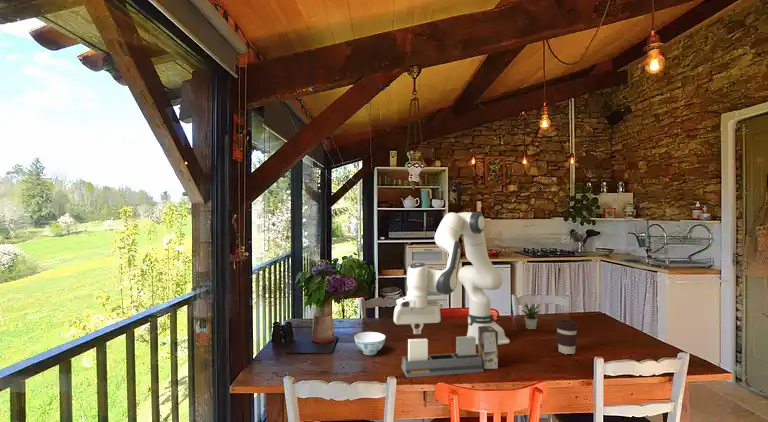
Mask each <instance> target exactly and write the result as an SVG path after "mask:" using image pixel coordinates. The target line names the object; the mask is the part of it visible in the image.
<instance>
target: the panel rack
mask: <svg viewBox="0 0 768 422" xmlns="http://www.w3.org/2000/svg"><path fill="white" fill-rule="evenodd" d="M455 343H456V344H455V353H442V354H440V353H439V354H438V353H437V354H428V360H420V361H408V355H406V356H405V355H404V356H402V361H401V362H402V363H401V366H400V367H401V369H402V371H403V373H404V375H405V376H406V377H405V378H415V377H416V378H417V377H431V376H442V375H443V376H444V375H457V374H458V375H461V374H473V373H484V368H483V366H482V357H481V356H480V355H478V352H476V351H477V349H476V346H477V344H476V337H474V336H467V335H465V336H464V335H463V336H455Z"/></svg>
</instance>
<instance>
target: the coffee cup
mask: <svg viewBox="0 0 768 422" xmlns="http://www.w3.org/2000/svg"><path fill="white" fill-rule="evenodd" d="M555 328H556V338H557V341H556V342H557V347H558V352H559V353H560V352H561V353H560V354H562V353H564V354H563V355H567V354H573V355H575V354H576V347H577V339H578V338H577V337H578V333H577V331H579V326H578V325H577V324H576V323H575V322H574V321H572V320H567V319H561V320H558V322H556V323H555ZM574 353H575V354H574Z"/></svg>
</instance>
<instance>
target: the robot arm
mask: <svg viewBox="0 0 768 422" xmlns="http://www.w3.org/2000/svg"><path fill="white" fill-rule="evenodd" d="M485 227H486V218H485V216H484V215H483V214H482V213H480V212H475V211H473V212H470V211H469V212H467V211H466V212H465V211H462V212H457V213H456V212H451V211H450V212H448V213H446V214H445V215H444V216H443V218H442V219H441V221H440V223H439V225H438V227H437V229H436V230H435V231H436V232H435V234H434V242H435V244H436V246H437V247H438V248H439V249H440V250H441V251H443V252H445V253H447V254H448V258H447V263H446V267H445V269H442V270H440V269H434V268H430V267H428V266H427V264H426V263H424V262H421V261H420V262H419V261H418V262H413V263H411V264H409V265H408V269H407V276H406V285H407V292H406V295H405V296H403V297H401V298H398V299H396V300H395V301H396V306H395V307H394V310H393V317H392V318H393V322H394V323H395V325H410V326H411V328H412V332H413V335H419V334H420V335H421V334H422V329H423V327H424V324H437V323H440V322H441V320H442V319H441V318H442V317H441V311H440V310H441V303H440V301H438V300H428V299H429V298H428V295H429V294H428V292H432V293H439V294H440V295H441V294H442V295H445V296H448V295H450V294H452V293H453V292H454V291H455V290H456V289H457V284H458V280H459V282H460V283H461V284H462V285H463V287H464V289H465V291H466V294H467V298H468V313H467V324H468V325H467V326H468V327H467V332H466V336H474V337H476V345H478V326H491V327H492V328H494V329H495V330H496V331H497V332H498V346H500V345H506V344H510V339H509V338H508V337H507V336H506V333H505V331H504V329H503V328H502V327H501V326H500V325H499V324H498V323H496V321H497V319H498V317H497V316H496V315H493V314H491V299H490V298H489V296H488V295H486V293H485V292H484V291H485V290H488V291H494V290H498V289H500V288H501V286H502V285H503V282H504V280H503V275H502V273H501V272H500V271H499V270H497V268H496V267H495V266H494V265H493V263H492V261H491V259H490V258H489V254H488V249H487V243H486V237H485V232H484V230H485V229H486V228H485ZM461 235H463V244H464V251H465V257H466V259H467V260H468V261H469V262H470V263H471V265H467V266H466V265H465V266H462V267H460V266H459V265H460V262H461V254H462V245H461V242H459V240H460V239H459V238H460V237H461ZM459 267H460V269H459ZM416 324H418V325H419V326H418V328H416V327H415V326H416Z"/></svg>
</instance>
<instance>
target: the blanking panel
mask: <svg viewBox="0 0 768 422" xmlns="http://www.w3.org/2000/svg"><path fill="white" fill-rule="evenodd" d="M428 349H429V341H428V339H427V338H408V339H407V356H408V361H420V360H428V355H429V353H428V352H429V350H428Z"/></svg>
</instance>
